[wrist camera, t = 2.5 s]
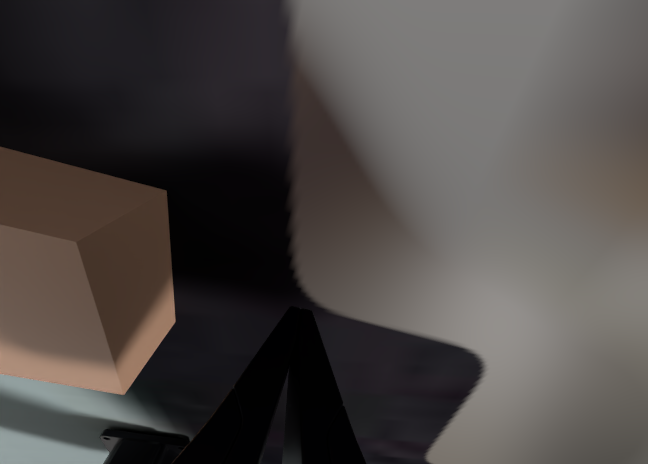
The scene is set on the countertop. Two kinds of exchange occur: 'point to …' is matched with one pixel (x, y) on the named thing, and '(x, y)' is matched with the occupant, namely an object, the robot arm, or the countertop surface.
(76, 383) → the tan trapezoid block
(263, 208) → the countertop surface
